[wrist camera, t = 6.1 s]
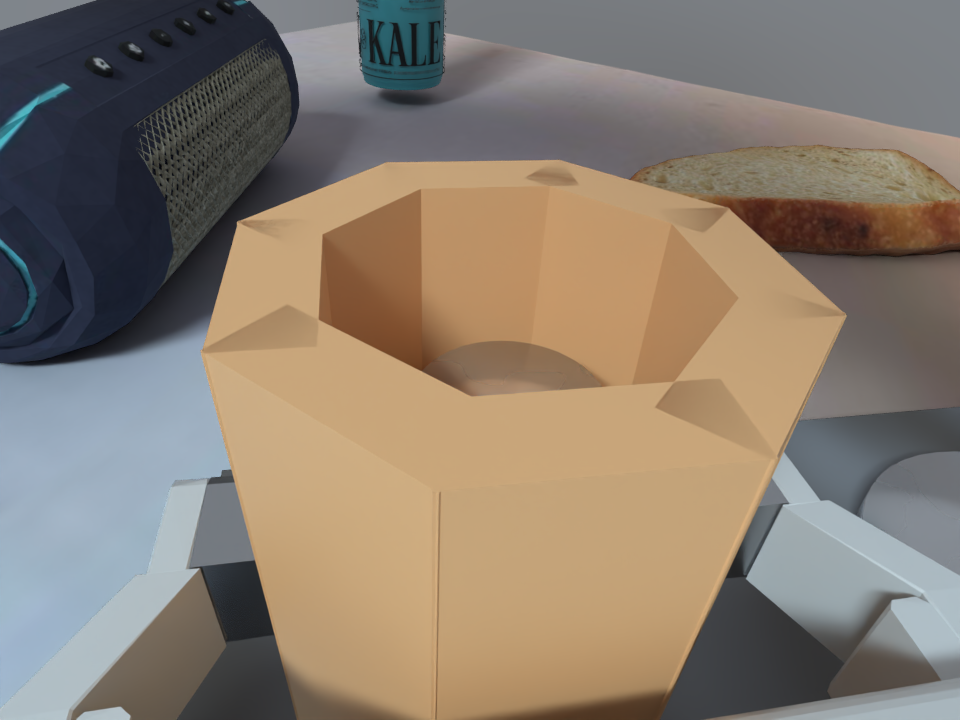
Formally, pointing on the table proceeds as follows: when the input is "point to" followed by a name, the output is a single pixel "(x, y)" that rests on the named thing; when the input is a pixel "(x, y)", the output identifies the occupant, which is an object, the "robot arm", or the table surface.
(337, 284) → the sleeve
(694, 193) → the slice of bread
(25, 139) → the portable speaker
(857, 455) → the board
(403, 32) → the beverage bottle
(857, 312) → the table surface
